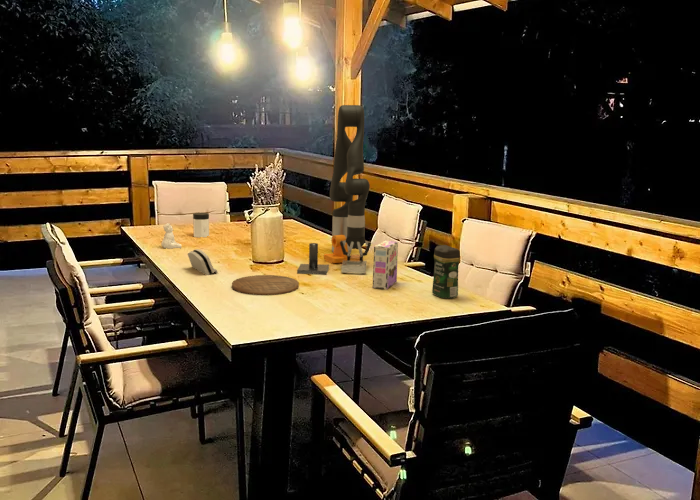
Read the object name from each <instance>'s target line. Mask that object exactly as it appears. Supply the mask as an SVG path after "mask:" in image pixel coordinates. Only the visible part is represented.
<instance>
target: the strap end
mask: <svg viewBox="0 0 700 500" xmlns="http://www.w3.org/2000/svg"><path fill="white" fill-rule="evenodd" d="M350 256H351V257H350V260H343V262H342V263H341V269H340V270H341V271H340V272H341V273H345V274H350V273H351V274H366V273H367V263H368V262H367V260H363V261H360V254H350Z"/></svg>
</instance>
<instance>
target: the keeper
mask: <svg viewBox="0 0 700 500" xmlns="http://www.w3.org/2000/svg"><path fill="white" fill-rule="evenodd" d="M308 247H309V248H308V251H309V253H308V263H300V265H299V266H298V268H297V270H296V274H298V275H299V274H300V275H327V273H328V272H329V269H330V266H329V264H319V263H318V261H319V259H318V258H319V244H318V243H317V242H316V243H315V242H310V243H309V244H308Z"/></svg>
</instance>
